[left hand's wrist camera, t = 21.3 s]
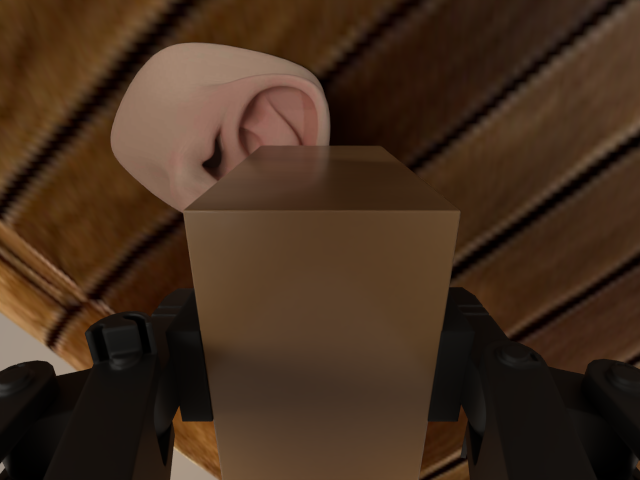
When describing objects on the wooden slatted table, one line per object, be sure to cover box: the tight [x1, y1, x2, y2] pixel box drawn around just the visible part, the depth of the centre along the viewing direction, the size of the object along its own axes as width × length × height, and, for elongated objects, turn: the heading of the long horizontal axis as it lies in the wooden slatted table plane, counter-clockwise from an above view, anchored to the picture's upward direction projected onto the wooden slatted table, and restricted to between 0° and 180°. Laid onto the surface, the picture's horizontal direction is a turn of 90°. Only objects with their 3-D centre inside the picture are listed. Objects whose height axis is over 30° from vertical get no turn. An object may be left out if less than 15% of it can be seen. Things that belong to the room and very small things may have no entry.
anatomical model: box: [111, 43, 330, 212], centre depth 21 cm, size 13×4×12 cm
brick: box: [183, 145, 461, 480], centre depth 13 cm, size 5×8×10 cm, turn 0°
